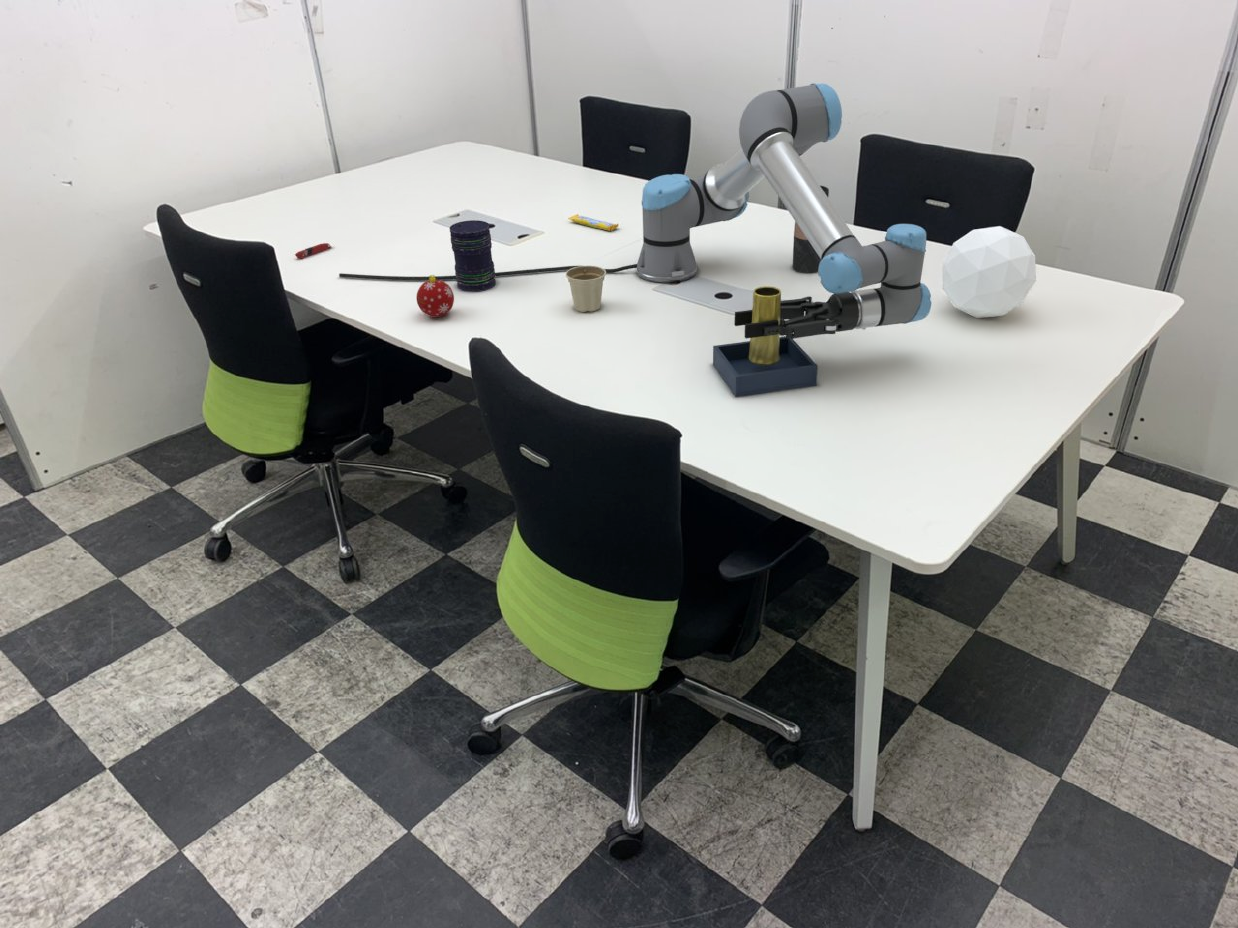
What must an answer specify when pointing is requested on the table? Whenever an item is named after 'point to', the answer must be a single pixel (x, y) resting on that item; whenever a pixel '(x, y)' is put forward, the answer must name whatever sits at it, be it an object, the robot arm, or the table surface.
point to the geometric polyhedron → (988, 272)
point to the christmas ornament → (435, 297)
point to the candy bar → (593, 223)
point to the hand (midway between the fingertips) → (740, 325)
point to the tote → (764, 368)
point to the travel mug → (805, 250)
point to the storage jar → (472, 255)
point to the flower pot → (586, 287)
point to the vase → (764, 310)
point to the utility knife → (312, 250)
